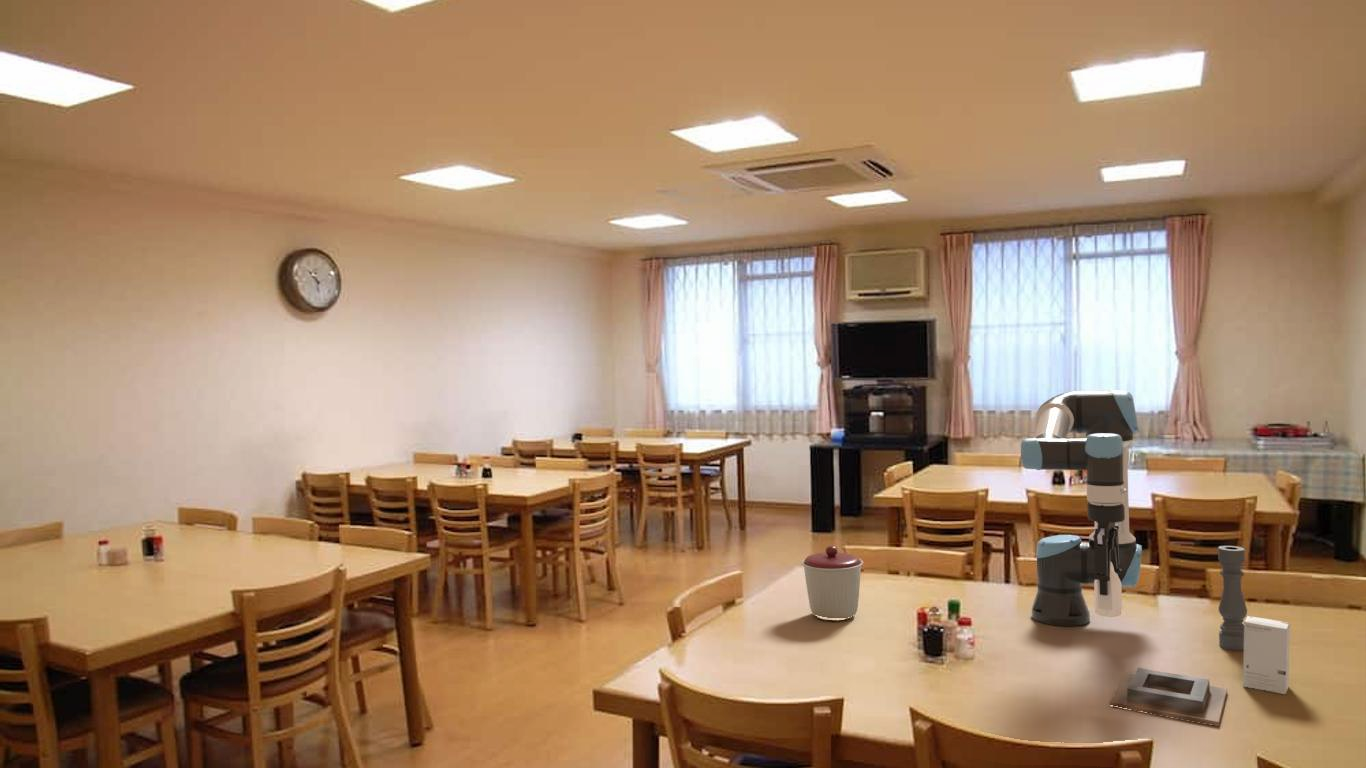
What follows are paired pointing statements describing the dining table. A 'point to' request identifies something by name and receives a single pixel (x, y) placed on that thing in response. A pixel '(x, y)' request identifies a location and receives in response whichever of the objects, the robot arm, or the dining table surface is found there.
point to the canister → (833, 583)
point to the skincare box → (1266, 654)
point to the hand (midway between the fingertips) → (1108, 604)
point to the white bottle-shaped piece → (1115, 596)
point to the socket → (1171, 696)
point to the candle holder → (1232, 598)
